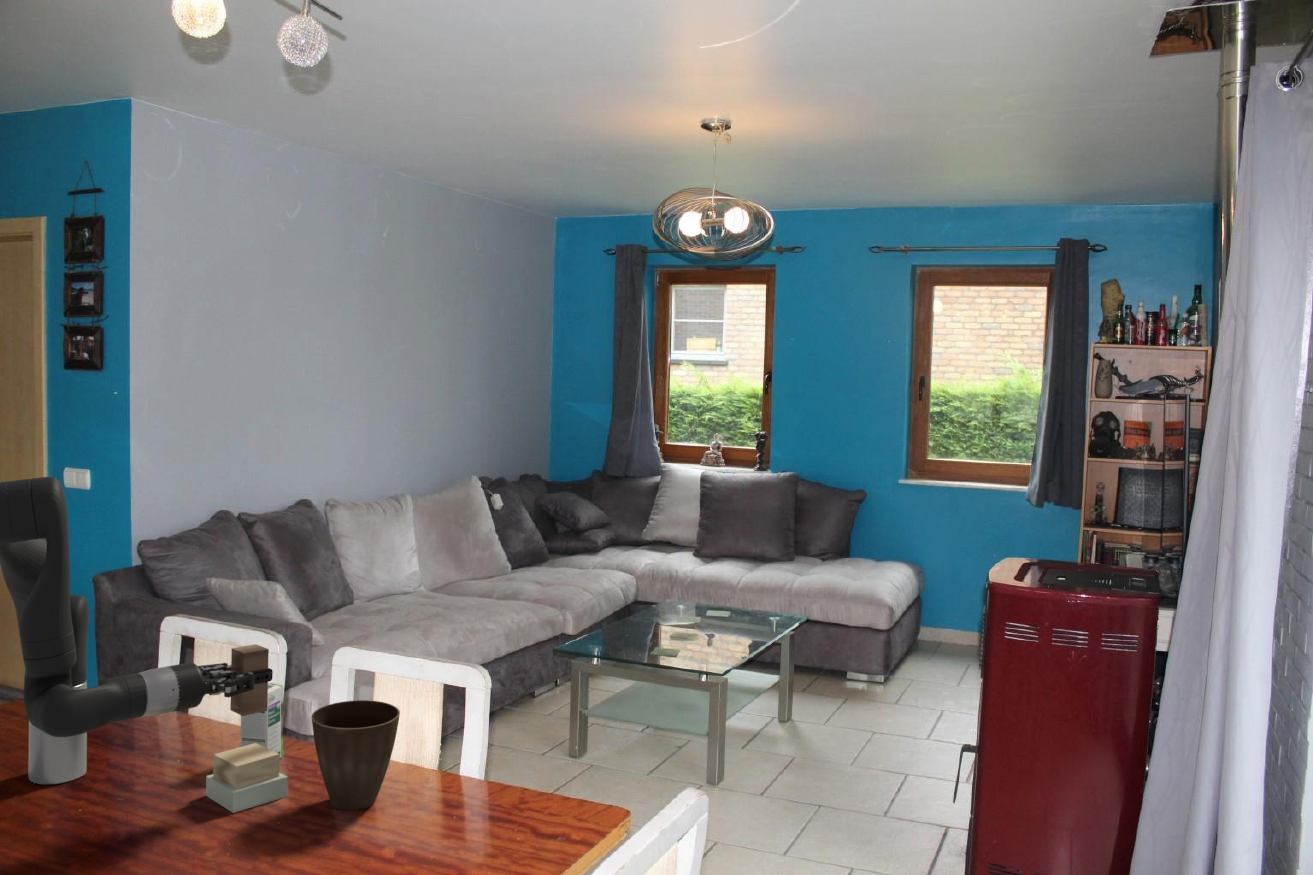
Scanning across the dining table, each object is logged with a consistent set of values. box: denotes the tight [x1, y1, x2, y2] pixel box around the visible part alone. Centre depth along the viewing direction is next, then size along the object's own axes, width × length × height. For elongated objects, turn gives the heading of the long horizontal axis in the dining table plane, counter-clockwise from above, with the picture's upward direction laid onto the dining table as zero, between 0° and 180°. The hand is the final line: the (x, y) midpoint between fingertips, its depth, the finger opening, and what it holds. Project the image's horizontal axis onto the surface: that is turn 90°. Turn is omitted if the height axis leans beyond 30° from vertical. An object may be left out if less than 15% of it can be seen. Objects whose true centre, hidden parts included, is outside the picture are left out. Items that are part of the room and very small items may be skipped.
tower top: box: [212, 743, 281, 789], centre depth 183 cm, size 8×8×4 cm
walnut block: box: [229, 644, 269, 716], centre depth 182 cm, size 4×4×11 cm
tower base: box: [205, 771, 289, 814], centre depth 183 cm, size 10×10×4 cm
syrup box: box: [240, 682, 284, 759], centre depth 200 cm, size 6×6×14 cm
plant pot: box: [311, 699, 401, 811], centre depth 182 cm, size 15×15×16 cm
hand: (263, 671), depth 184 cm, fingers closed on walnut block, 4 cm apart
